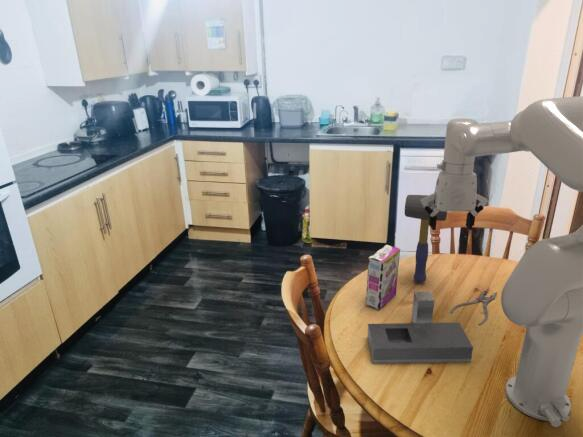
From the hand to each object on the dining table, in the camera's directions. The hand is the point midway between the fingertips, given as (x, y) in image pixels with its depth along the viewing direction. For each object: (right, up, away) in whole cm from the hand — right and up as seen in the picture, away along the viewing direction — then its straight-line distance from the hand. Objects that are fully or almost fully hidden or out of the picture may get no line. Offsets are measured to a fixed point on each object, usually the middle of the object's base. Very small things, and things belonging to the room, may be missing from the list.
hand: (450, 228), depth 119 cm
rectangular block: (-11, -31, -7) cm, 34 cm away
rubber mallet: (-2, -18, +23) cm, 30 cm away
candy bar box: (-16, -23, +15) cm, 31 cm away
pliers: (+11, -24, +11) cm, 28 cm away
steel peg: (-7, -27, +3) cm, 28 cm away
